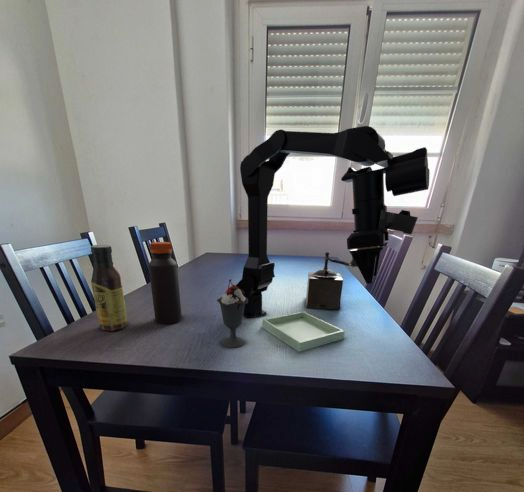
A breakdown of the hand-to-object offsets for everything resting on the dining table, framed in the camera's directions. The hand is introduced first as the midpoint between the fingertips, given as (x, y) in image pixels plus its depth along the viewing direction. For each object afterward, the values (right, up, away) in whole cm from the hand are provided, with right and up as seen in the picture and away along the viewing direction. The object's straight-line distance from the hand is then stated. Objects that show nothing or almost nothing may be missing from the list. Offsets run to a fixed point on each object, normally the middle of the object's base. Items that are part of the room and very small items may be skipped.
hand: (371, 279), depth 60 cm
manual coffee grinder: (-2, -4, +30) cm, 31 cm away
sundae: (-30, -14, +3) cm, 33 cm away
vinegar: (-48, -9, +16) cm, 52 cm away
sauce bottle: (-60, -11, +10) cm, 62 cm away
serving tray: (-14, -12, +9) cm, 20 cm away
